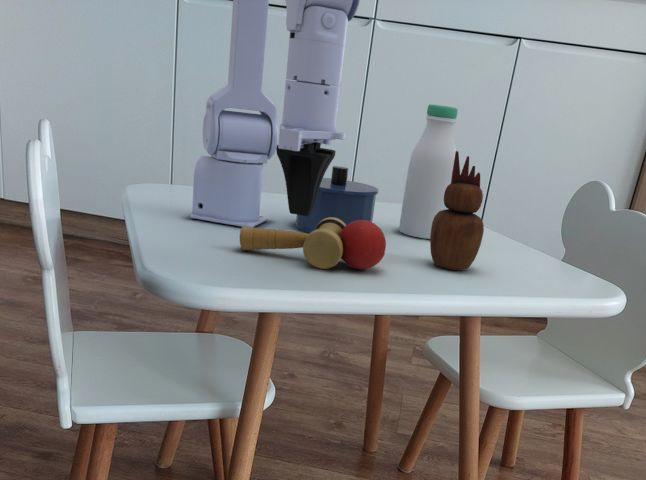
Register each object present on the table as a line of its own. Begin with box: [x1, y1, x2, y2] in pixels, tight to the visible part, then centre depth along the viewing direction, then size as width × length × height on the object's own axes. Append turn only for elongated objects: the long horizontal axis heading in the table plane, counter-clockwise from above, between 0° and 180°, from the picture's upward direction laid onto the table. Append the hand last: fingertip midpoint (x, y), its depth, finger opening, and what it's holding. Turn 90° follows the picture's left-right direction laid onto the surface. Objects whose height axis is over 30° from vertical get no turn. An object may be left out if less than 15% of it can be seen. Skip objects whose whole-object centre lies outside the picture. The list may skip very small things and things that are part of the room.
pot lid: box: [319, 165, 379, 196], centre depth 103 cm, size 12×12×4 cm
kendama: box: [239, 217, 387, 270], centre depth 84 cm, size 8×6×18 cm
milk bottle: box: [398, 103, 458, 240], centre depth 108 cm, size 8×8×20 cm
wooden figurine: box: [429, 150, 485, 271], centre depth 90 cm, size 7×6×15 cm
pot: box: [295, 190, 377, 234], centre depth 104 cm, size 11×11×6 cm
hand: (300, 214), depth 76 cm, fingers closed
